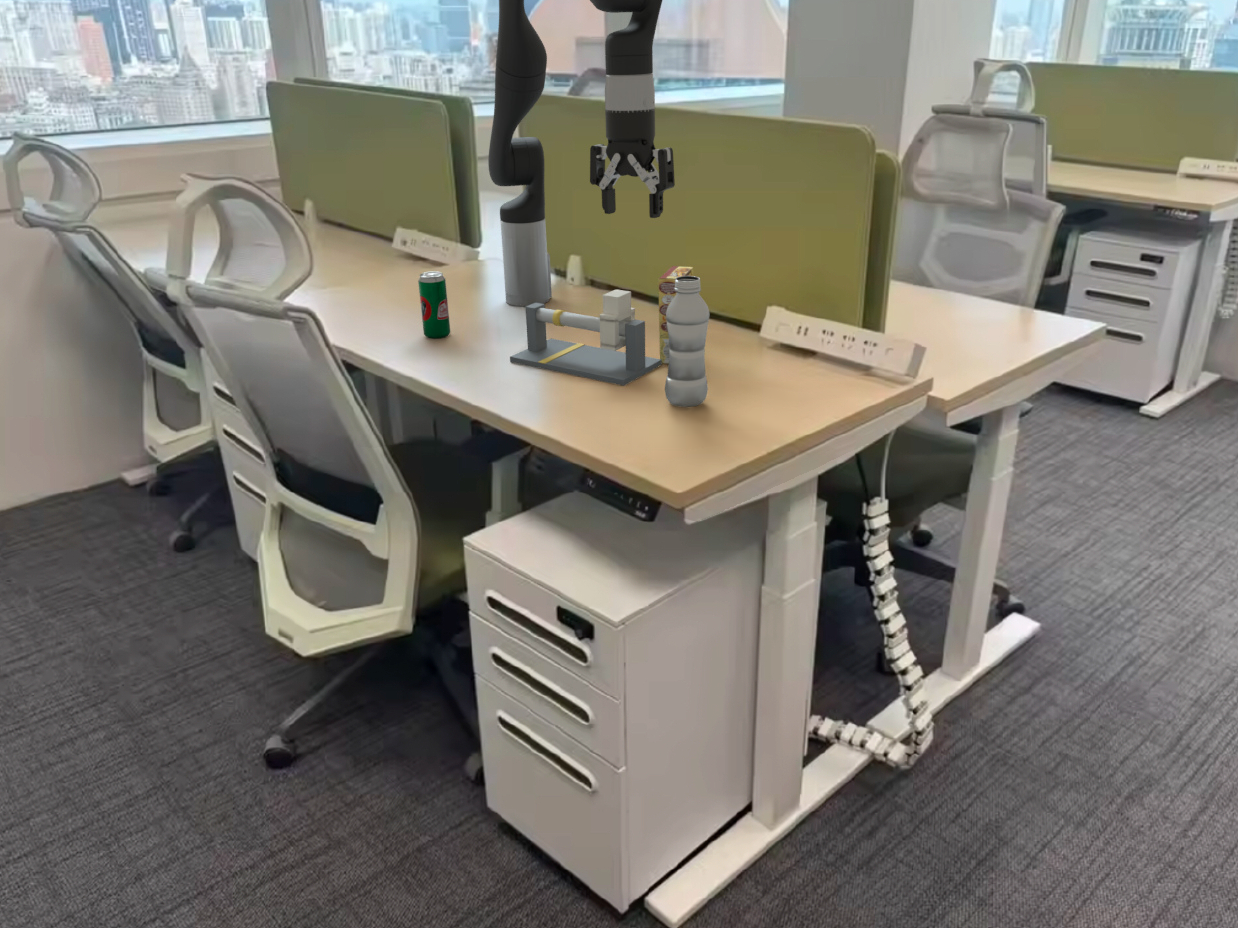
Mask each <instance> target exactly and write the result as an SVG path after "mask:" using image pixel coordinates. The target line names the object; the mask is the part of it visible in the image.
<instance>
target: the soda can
mask: <svg viewBox="0 0 1238 928" xmlns="http://www.w3.org/2000/svg"><path fill="white" fill-rule="evenodd" d="M417 280H418V281H417V282H418V293H419V303H420V311H421V320H422V322H421V323H422V328H423V329H422V330H423V335H424V337H426V338H427V339H431V340H440V339H445V338H447V337H448V336H450V335H451V324H450V323H451V322H450V314H449V302H448V292H447V282H446V278H445V277H444V273H443V272H441V271H434V270H433V271H425V272H422V273H420V274H419V278H418V279H417Z"/></svg>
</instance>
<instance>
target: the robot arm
mask: <svg viewBox="0 0 1238 928" xmlns="http://www.w3.org/2000/svg"><path fill="white" fill-rule="evenodd" d="M589 1H590V3H591V4H592V5H593V7H595V8H596V9H597V10H599V11H601V12H604V13H605V12H606V13H612V14H613V13H614V14H615V13H617V14H618V13H632V14H631V16H630V19H629V22H628V25H627V26H626V27H624V28H623V29H620V30H616V31H613V32H610V33H609V34H608V35H606V38H605V43H604V53H605V54H604V55H605V59H604V60H605V85H604V107H605V109H604V111H605V112H604V113H605V117H604V118H605V138H606V139H607V145H605V144H603V143H601V144H600V143H599V144H595V145H591V146H590V149H589V150H590V151H589V152H590V153H589V154H590V155H589V183H590V184H591V185H592V186H593V185H595V186H597V187H599V189H600V191H601V207H602V210H604V214H606V215H611V214H614V213H616V210H617V208H616V188H614V186H615V184H616V183H617V181H618V180H619V178H621V176H623V177H625V176H630V177H636V178H637V177H639V179H640V180H641V181H642V182H643V183H644V184H645V185H646V187H647V188H648V190H649V192H650V193H649V194H648V196H649V197H648V198H649V200H648V201H649V202H648V203H649V204H648V207H649V208H648V210H649V211H648V212H649V218H650V219H656V218H660V217H661V215H662V214H663V211H664V193H665V191H667V190H669V189H673V188H674V187H675V183H676V182H675V165H674V161H675V160H674V150H673V148H672V147H670V146H669V147H664V148H656V146H655V142H654V141H655V137H656V106H655V105H656V101H655V100H656V95H655V94H656V93H655V92H656V91H655V82H654V75H653V72H654V69H653V68H654V67H653V66H654V65H653V64H654V62H653V56H654V55H653V47H654V46H653V44H654V38H655V34H656V29H657V24H658V19H659V15H660V11H661V7H662V4H663V0H589ZM525 10H526V8H525V0H498V30H497V31H498V32H497V33H498V34H497V46H496V47H497V48H496V57H495V70H494V71H495V73H494V106H493V107H494V108H493V109H494V110H493V119H492V126H491V134H490V139H489V148H488V163H487V164H488V171H489V172H488V173H489V176H490V179H491V181H492V183H493V184H494V185H496V186H499V187H515V186H516V187H518V186H520V187H521V186H525V189H524V190H523V191H522V192H521V193H520V194H519V195H518V196H516V197H515V198H513V199H511V200H509V201H507V202H504V203H503V204H502V205H501V206H500V207H499V219H500V220H499V221H500V231H501V232H500V235H501V247H502V248H501V249H502V250H501V251H502V261H503V262H502V263H503V276H504V292H505V302H506V303H507V304H509V305H512V306H516V307H517V306H518V307H526V306H528V305H531V304H533V303H541V304H546V303H548V302H549V301H550V298H552V297H553V296H552V277H551V276H552V275H551V256H550V255H551V254H550V253H549V252H548V247H547V246H548V245H547V230H546V209H545V207H546V200H545V199H546V198H545V195H546V194H545V193H546V191H545V171H546V170H545V152H544V147H543V143H542V142H541V141H540V139H539V138H538V137H535V136H526V137H525V136H523V137H522V136H521V137H514V134H515V131H516V129H517V128H518V126H519V124H520V123H521V122H522V121H523V119H524V118H525V117H526V116H527V115H528V114H529V112H531V110H532V108H533V107H534V106H535V105H536V104H537V102H538V101H539V99H540V97H541V96H542V93H543V92H544V89H545V86H546V85H545V83H546V75H547V66H548V65H547V64H548V62H547V61H548V55H547V50H546V48H545V45H544V43H543V41H542V40H541V38H540V36H539V34H538V32H537V31H536V30H535V28H534V26H533V25H532V23H531V22H530V20H529V17H528V15H527V13H526V11H525ZM607 158H608V160H609V161H610V162H609V164H608V166H607V168H606V159H607ZM654 160H655V162H656V163H657V164H658V169H657V168H656V166H655V165H654Z"/></svg>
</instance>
